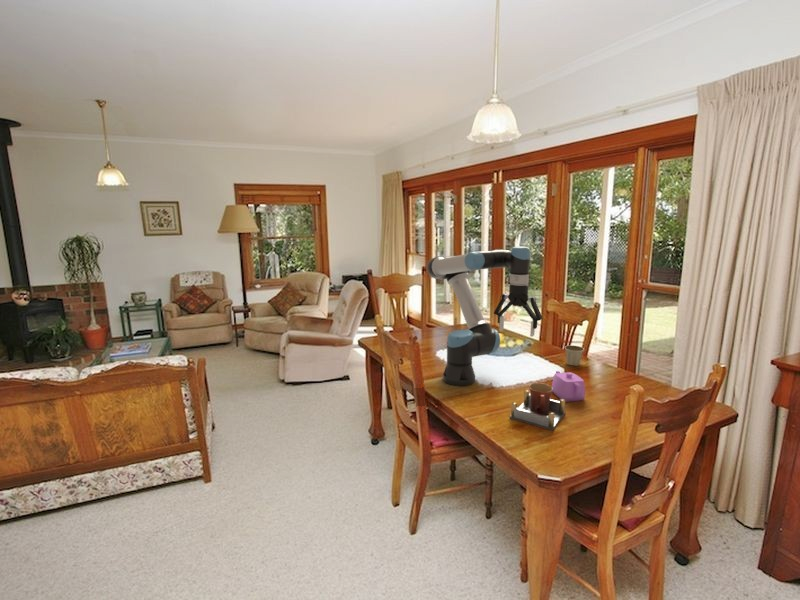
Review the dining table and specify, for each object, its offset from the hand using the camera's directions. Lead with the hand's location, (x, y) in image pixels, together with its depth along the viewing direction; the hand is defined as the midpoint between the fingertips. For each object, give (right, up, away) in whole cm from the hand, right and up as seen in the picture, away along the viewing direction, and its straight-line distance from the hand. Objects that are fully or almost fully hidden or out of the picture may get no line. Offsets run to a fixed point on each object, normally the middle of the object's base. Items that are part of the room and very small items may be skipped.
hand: (516, 333), depth 176 cm
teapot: (+22, -27, +2) cm, 35 cm away
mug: (+4, -30, -17) cm, 35 cm away
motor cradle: (+4, -31, -17) cm, 35 cm away
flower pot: (+40, -19, +38) cm, 59 cm away
